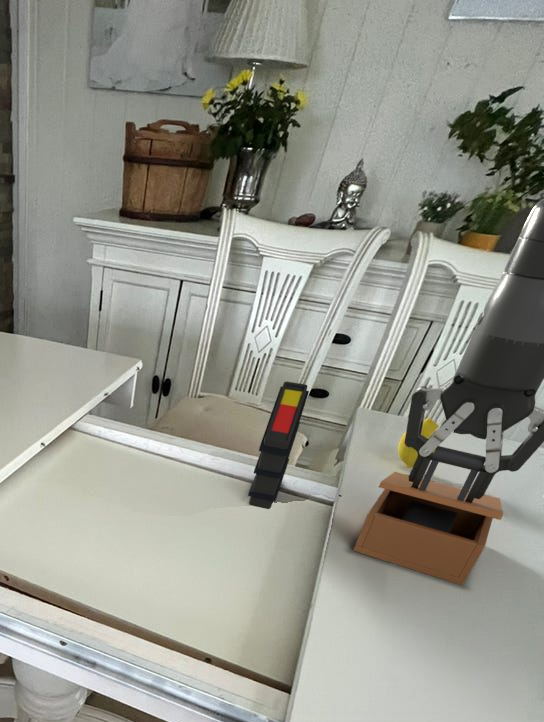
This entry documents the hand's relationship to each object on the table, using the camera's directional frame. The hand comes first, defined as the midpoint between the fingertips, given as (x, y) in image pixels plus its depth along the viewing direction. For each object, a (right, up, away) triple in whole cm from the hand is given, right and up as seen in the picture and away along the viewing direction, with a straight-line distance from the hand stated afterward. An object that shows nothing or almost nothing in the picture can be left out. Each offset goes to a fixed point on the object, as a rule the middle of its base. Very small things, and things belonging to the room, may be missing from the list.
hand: (441, 492), depth 68 cm
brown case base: (+2, -5, +8) cm, 10 cm away
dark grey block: (+2, -4, +8) cm, 9 cm away
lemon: (+13, +14, +26) cm, 32 cm away
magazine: (-15, +4, +18) cm, 24 cm away
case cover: (+2, +1, +4) cm, 4 cm away
